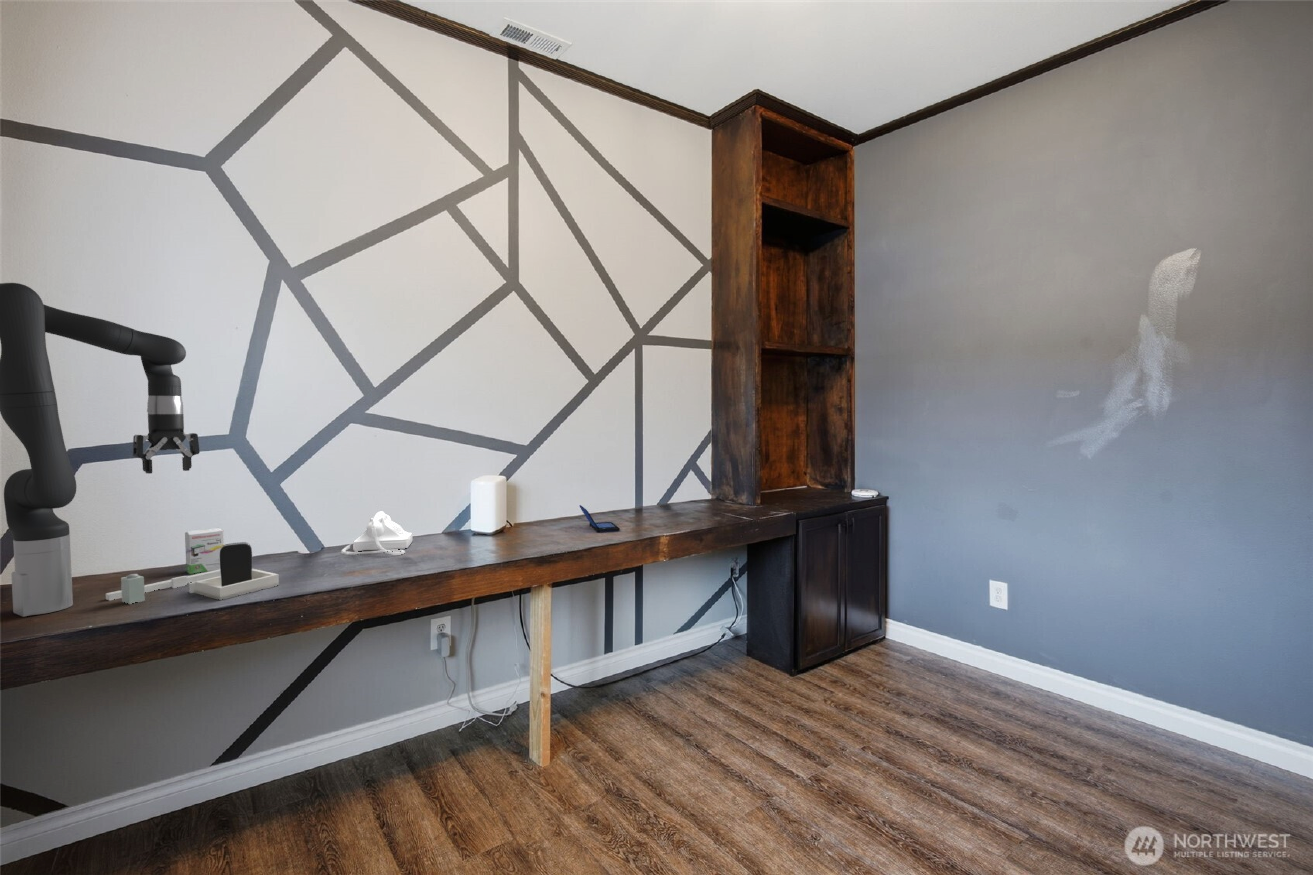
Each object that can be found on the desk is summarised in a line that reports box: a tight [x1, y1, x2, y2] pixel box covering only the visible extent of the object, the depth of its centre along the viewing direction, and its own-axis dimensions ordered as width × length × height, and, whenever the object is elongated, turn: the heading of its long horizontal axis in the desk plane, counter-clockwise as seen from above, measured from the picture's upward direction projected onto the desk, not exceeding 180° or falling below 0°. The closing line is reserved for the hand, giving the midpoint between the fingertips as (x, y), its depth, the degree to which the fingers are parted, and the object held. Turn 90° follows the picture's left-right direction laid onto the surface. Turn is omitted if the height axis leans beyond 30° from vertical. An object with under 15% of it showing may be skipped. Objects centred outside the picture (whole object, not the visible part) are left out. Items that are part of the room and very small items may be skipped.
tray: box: [194, 568, 280, 601], centre depth 156 cm, size 14×12×3 cm
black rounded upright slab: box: [219, 541, 253, 587], centre depth 156 cm, size 7×4×11 cm, turn 126°
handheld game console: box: [579, 504, 621, 533], centre depth 235 cm, size 16×13×9 cm
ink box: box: [184, 527, 225, 575], centre depth 174 cm, size 8×5×12 cm, turn 138°
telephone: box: [340, 510, 413, 556], centre depth 200 cm, size 25×21×12 cm
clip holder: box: [105, 569, 221, 605], centre depth 157 cm, size 28×13×7 cm, turn 152°
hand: (168, 471), depth 163 cm, fingers open, 8 cm apart
